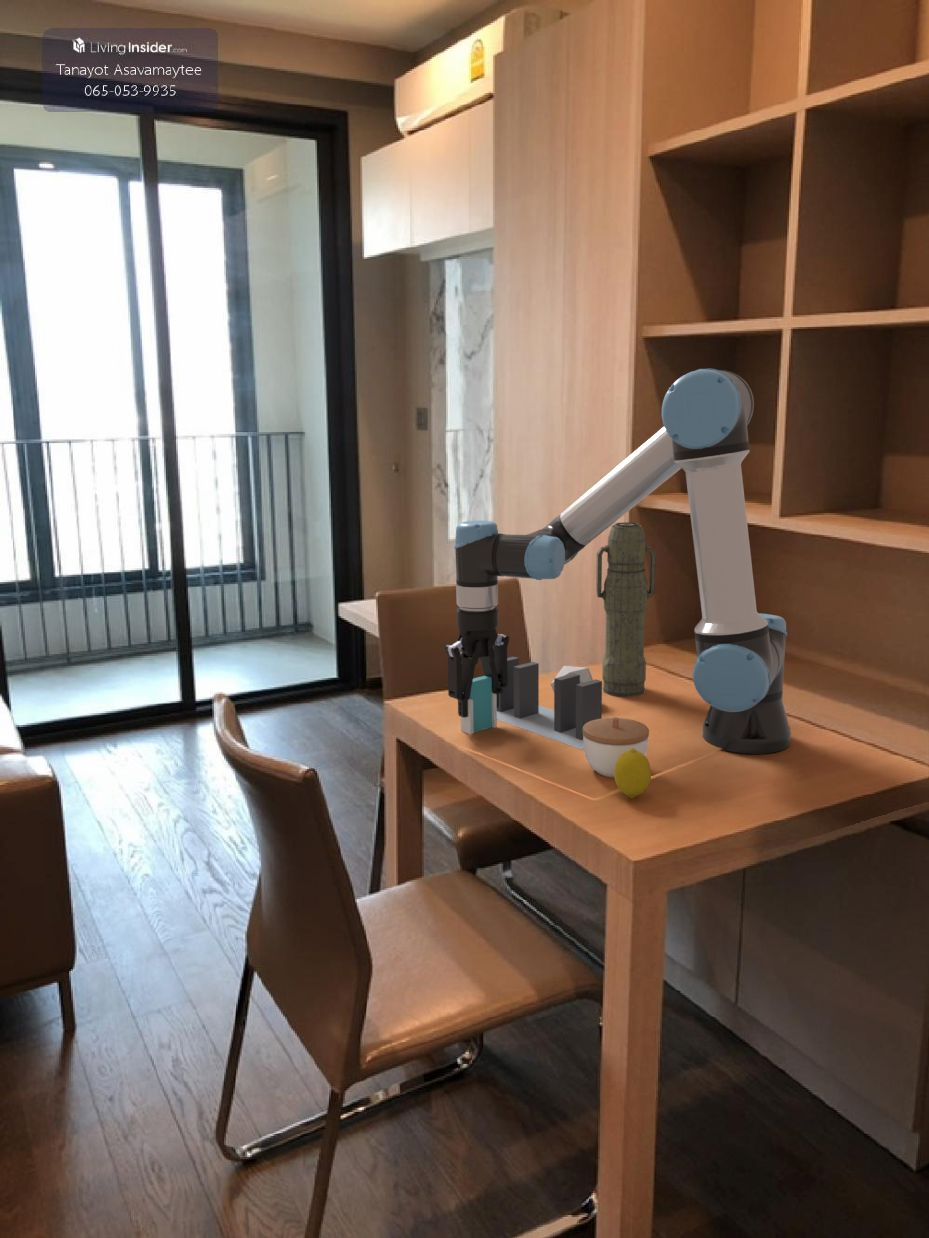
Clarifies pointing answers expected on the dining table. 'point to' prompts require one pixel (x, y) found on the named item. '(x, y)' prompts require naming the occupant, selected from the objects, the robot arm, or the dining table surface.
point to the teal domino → (482, 702)
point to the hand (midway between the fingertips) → (479, 729)
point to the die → (581, 671)
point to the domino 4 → (588, 704)
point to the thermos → (625, 608)
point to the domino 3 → (565, 702)
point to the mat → (541, 726)
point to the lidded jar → (612, 742)
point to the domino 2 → (526, 690)
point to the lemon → (632, 773)
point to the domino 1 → (508, 687)
